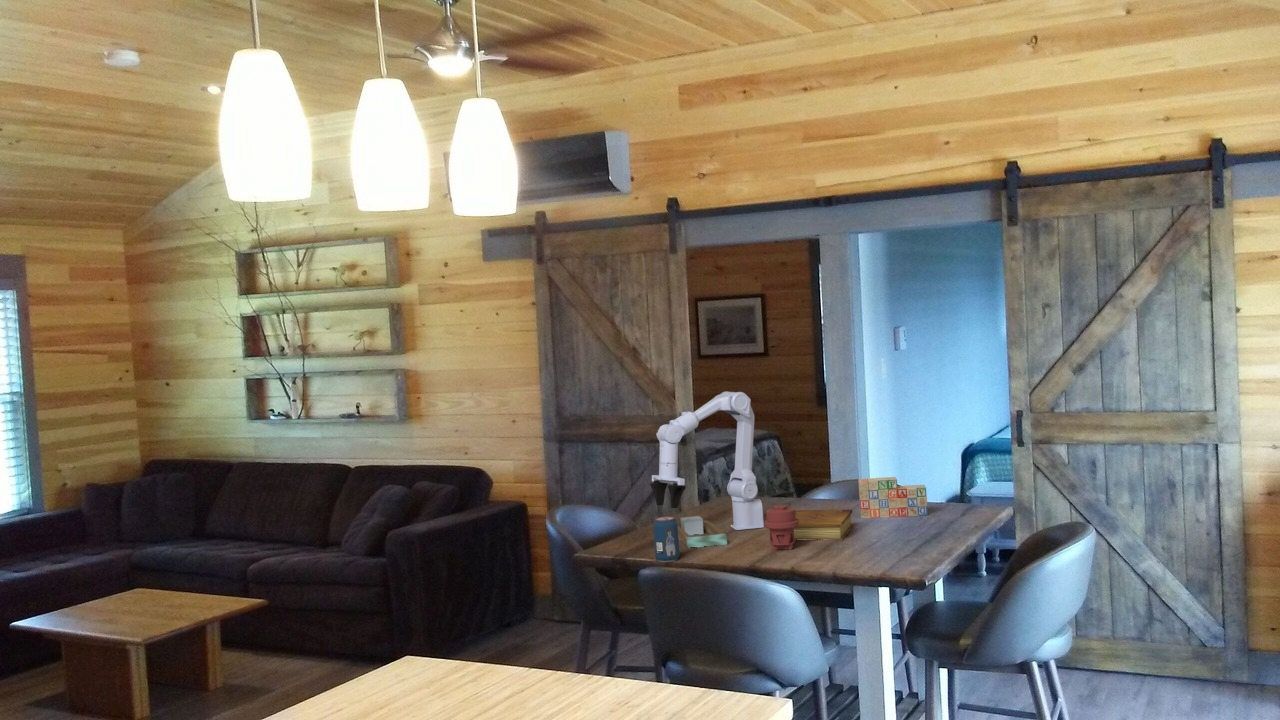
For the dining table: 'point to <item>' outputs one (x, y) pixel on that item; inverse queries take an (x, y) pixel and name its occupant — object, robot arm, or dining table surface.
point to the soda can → (666, 539)
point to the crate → (692, 525)
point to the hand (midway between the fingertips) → (667, 506)
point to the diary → (822, 524)
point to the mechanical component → (781, 526)
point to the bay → (700, 541)
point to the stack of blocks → (891, 498)
